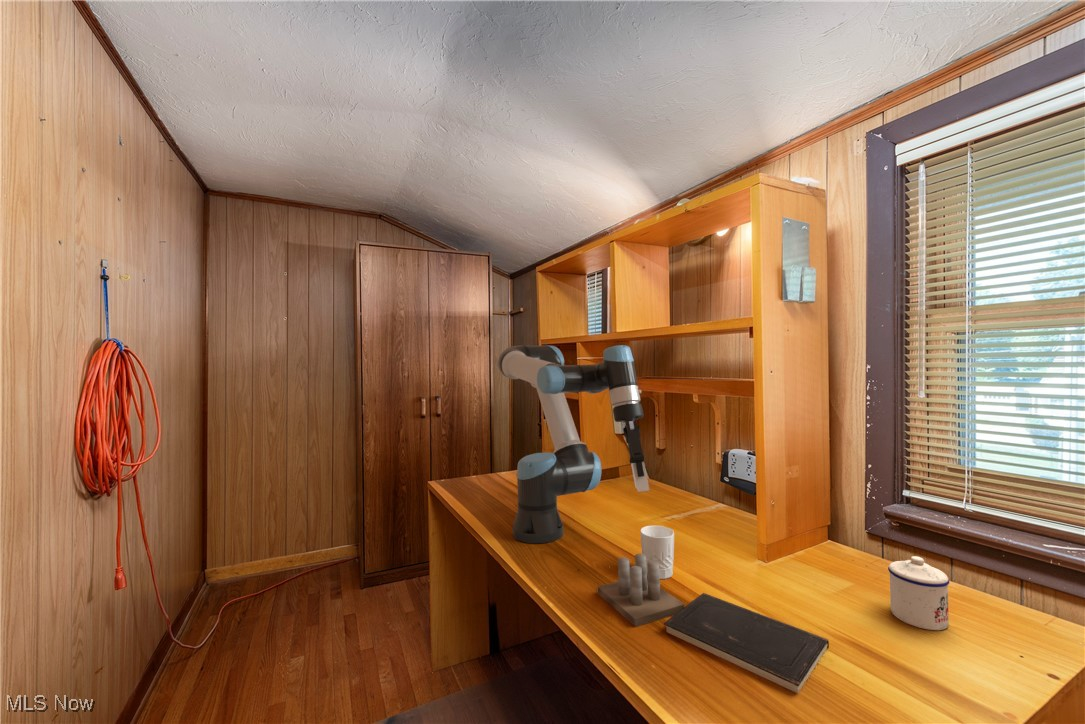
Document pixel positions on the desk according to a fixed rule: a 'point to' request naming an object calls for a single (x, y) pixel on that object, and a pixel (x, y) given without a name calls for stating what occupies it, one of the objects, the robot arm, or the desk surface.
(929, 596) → the lidded ceramic jar
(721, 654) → the hardcover book
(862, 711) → the desk surface
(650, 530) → the white cup
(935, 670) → the desk surface
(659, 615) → the peg stand
